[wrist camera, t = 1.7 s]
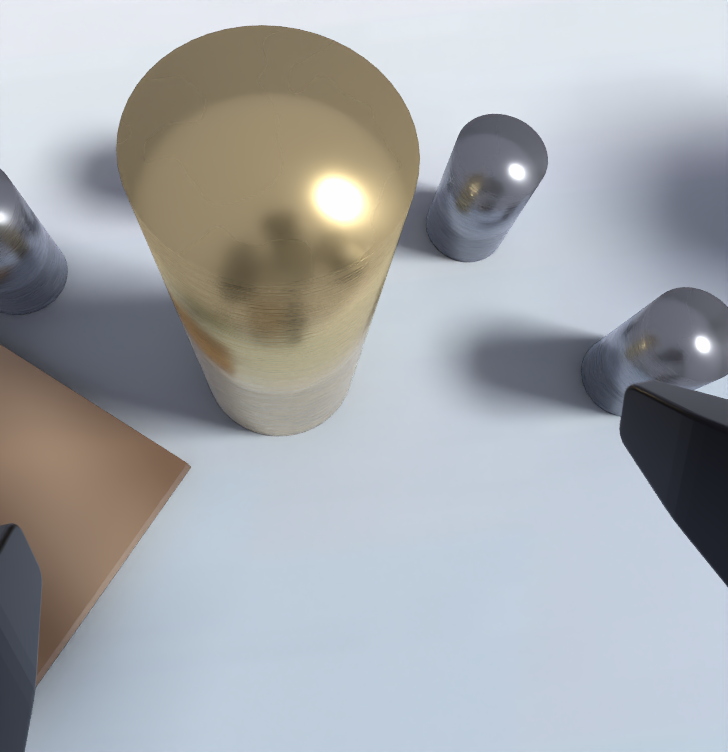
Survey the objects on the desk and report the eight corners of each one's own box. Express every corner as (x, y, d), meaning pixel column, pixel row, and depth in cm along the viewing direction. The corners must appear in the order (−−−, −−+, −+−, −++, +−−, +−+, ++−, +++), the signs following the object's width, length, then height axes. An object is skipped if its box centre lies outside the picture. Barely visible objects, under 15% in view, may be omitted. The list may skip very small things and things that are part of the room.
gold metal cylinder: (302, 464, 21) (319, 340, 10) (176, 385, 21) (49, 175, 10) (378, 345, 23) (470, 118, 11) (260, 273, 23) (233, -20, 12)
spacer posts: (660, 422, 23) (745, 388, 19) (-39, 309, 21) (-121, 243, 17) (658, 228, 25) (733, 158, 21) (31, 112, 24) (-26, 12, 19)
